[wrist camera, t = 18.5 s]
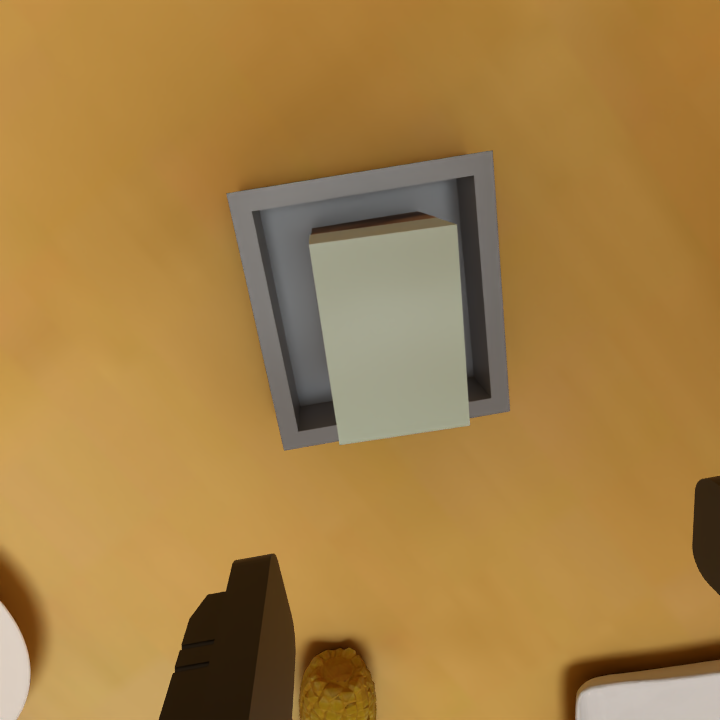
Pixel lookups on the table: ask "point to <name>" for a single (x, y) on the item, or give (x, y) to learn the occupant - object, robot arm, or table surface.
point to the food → (337, 688)
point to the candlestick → (12, 667)
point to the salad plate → (653, 694)
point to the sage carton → (392, 328)
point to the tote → (298, 293)
